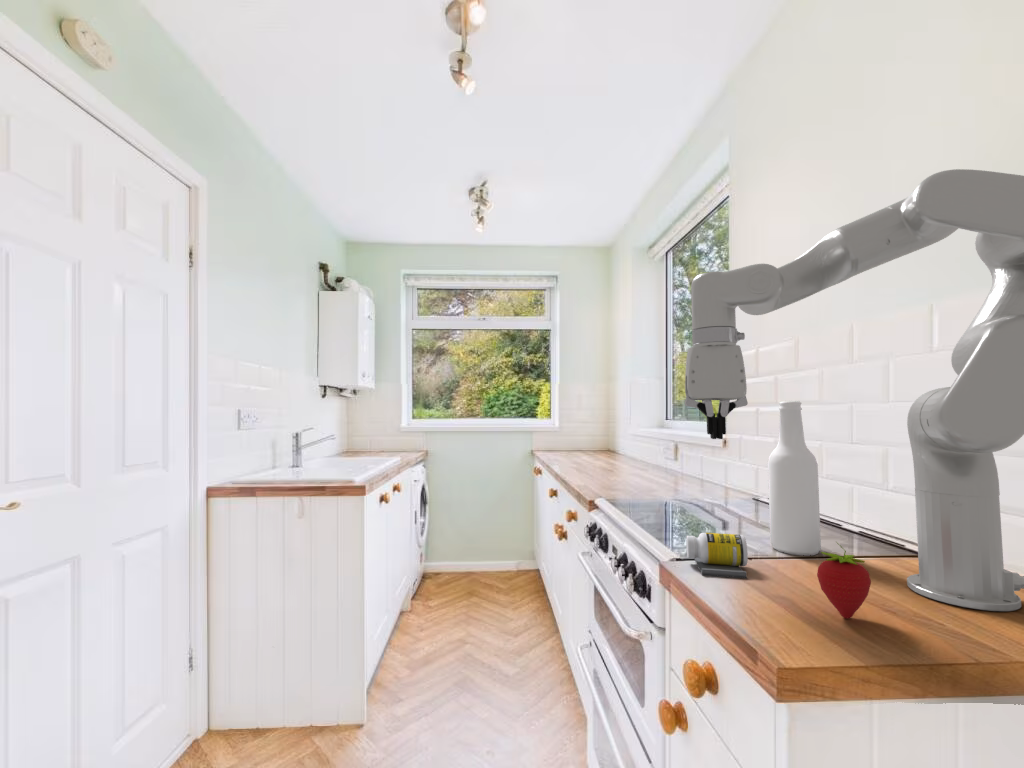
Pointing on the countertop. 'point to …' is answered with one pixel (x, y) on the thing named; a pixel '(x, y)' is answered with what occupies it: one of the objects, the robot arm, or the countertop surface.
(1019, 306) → the robot arm
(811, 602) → the countertop surface
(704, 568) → the tray
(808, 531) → the alcohol
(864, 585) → the strawberry
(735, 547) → the supplement bottle
